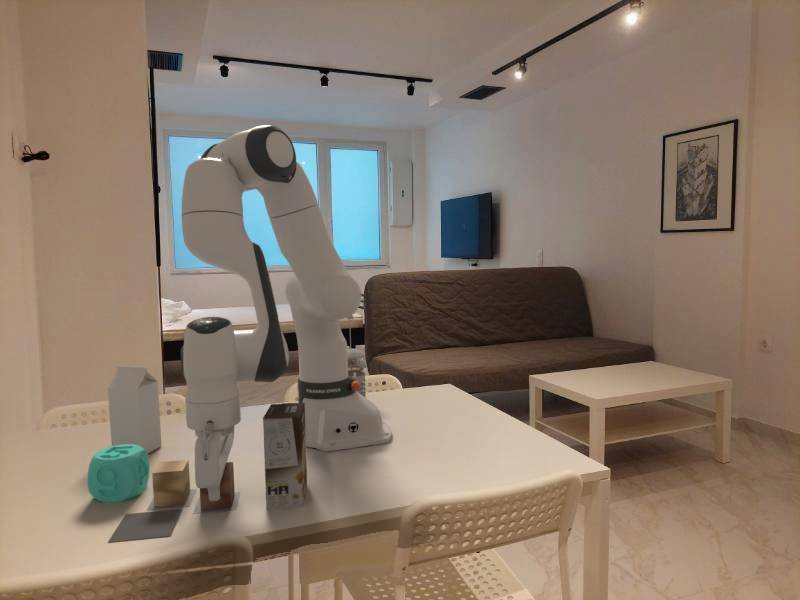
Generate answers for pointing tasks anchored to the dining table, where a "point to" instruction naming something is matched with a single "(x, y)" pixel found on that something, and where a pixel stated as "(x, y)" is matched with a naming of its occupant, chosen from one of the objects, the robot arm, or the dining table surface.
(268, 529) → the dining table surface
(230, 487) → the walnut block
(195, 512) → the code tile
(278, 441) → the coffee box
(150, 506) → the code tile
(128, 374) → the milk carton
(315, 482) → the dining table surface
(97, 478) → the decorative dice
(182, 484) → the oak block
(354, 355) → the french press
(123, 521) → the felt pad
